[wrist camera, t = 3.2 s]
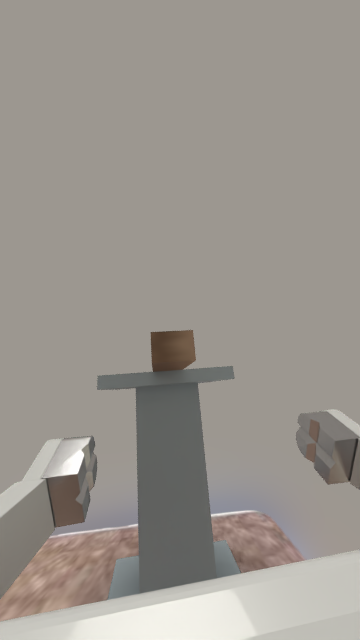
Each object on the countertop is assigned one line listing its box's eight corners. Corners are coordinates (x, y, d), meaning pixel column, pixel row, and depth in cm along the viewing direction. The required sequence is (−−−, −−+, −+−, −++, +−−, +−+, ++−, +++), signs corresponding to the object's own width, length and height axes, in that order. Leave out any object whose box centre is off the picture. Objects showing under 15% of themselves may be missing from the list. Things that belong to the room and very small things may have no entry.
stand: (86, 715, 17) (97, 375, 25) (116, 572, 30) (117, 380, 38) (276, 665, 19) (232, 366, 27) (226, 552, 32) (206, 373, 40)
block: (151, 363, 17) (150, 332, 18) (153, 377, 38) (153, 362, 39) (195, 360, 18) (192, 330, 18) (173, 376, 38) (172, 361, 39)
